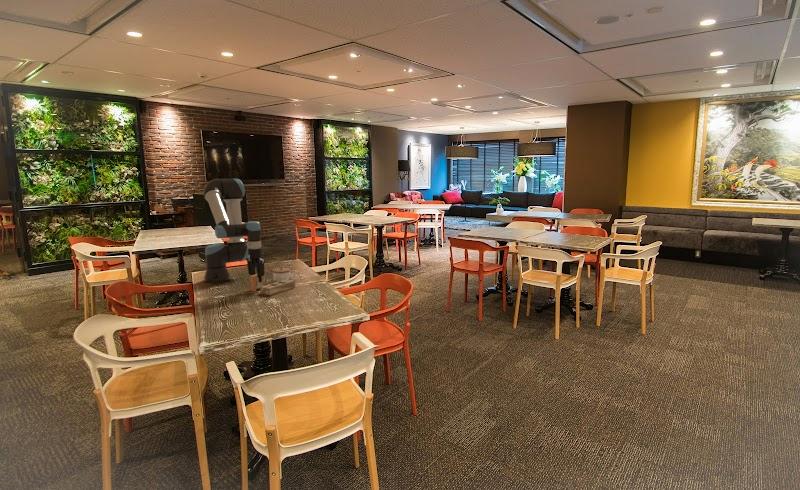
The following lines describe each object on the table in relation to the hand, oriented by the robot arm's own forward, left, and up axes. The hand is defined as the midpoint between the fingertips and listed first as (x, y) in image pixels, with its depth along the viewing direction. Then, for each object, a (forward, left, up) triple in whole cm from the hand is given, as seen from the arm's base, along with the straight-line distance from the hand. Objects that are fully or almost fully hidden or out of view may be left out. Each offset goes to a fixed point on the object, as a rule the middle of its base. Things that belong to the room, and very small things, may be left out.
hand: (257, 286), depth 253 cm
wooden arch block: (0, 0, -2) cm, 2 cm away
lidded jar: (-1, +21, -2) cm, 21 cm away
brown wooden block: (+12, +5, -2) cm, 13 cm away
